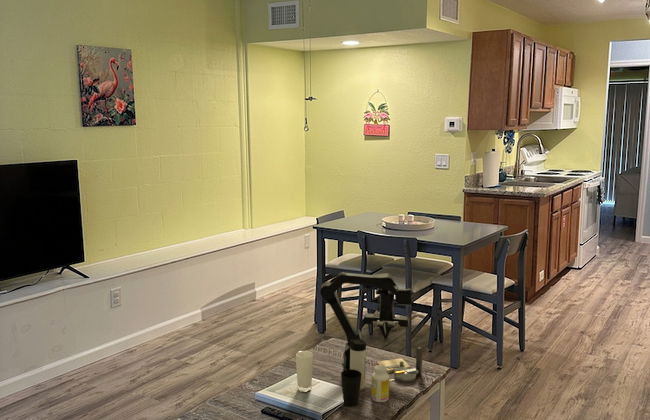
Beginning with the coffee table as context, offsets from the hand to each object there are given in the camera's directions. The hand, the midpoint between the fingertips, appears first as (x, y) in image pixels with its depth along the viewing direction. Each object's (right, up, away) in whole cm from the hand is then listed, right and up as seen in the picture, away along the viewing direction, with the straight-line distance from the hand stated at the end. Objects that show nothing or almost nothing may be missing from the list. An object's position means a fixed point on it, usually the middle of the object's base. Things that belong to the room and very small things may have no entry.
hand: (385, 339), depth 252 cm
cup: (-16, -18, -28) cm, 37 cm away
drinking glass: (-34, -16, -18) cm, 41 cm away
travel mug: (-13, -16, -15) cm, 26 cm away
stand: (+4, -13, +4) cm, 14 cm away
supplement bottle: (-5, -18, -24) cm, 30 cm away
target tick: (+2, -15, -9) cm, 17 cm away
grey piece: (+9, -14, -6) cm, 18 cm away
